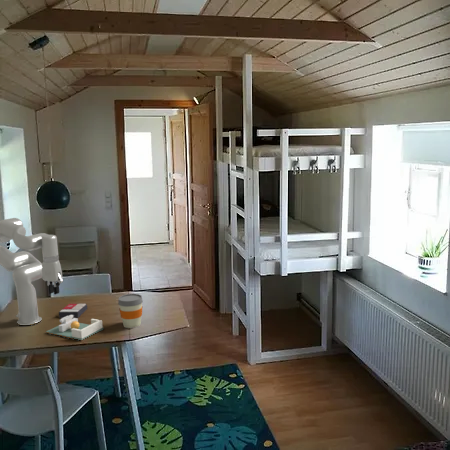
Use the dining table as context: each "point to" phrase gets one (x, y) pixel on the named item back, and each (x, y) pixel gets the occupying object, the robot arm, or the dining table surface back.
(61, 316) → the calculator
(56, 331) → the pitch
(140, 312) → the reusable coffee cup
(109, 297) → the dining table surface
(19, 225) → the robot arm
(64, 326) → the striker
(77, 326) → the ball
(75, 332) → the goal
